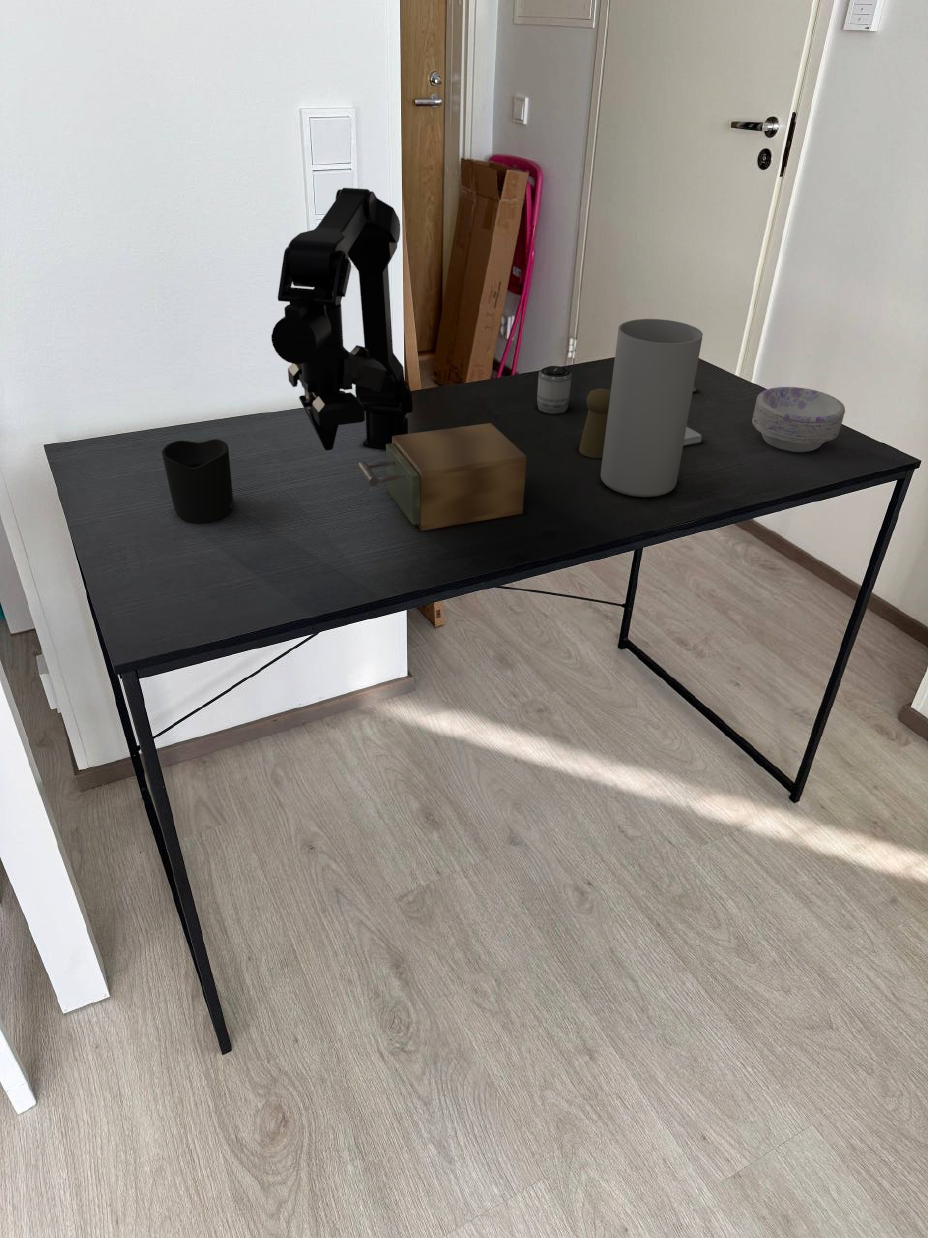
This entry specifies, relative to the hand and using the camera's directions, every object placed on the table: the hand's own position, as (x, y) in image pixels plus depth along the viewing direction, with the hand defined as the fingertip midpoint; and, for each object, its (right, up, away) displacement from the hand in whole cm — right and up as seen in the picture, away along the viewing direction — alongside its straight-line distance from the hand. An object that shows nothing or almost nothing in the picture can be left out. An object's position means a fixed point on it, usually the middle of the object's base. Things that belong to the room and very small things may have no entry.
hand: (328, 449), depth 128 cm
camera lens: (+37, +17, +47) cm, 62 cm away
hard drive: (+55, +8, +36) cm, 66 cm away
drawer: (+14, -6, +11) cm, 19 cm away
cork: (+43, +5, +31) cm, 53 cm away
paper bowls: (+79, +8, +37) cm, 88 cm away
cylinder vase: (+48, -2, +21) cm, 53 cm away
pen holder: (-20, -8, +9) cm, 23 cm away
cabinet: (+18, -6, +13) cm, 23 cm away
